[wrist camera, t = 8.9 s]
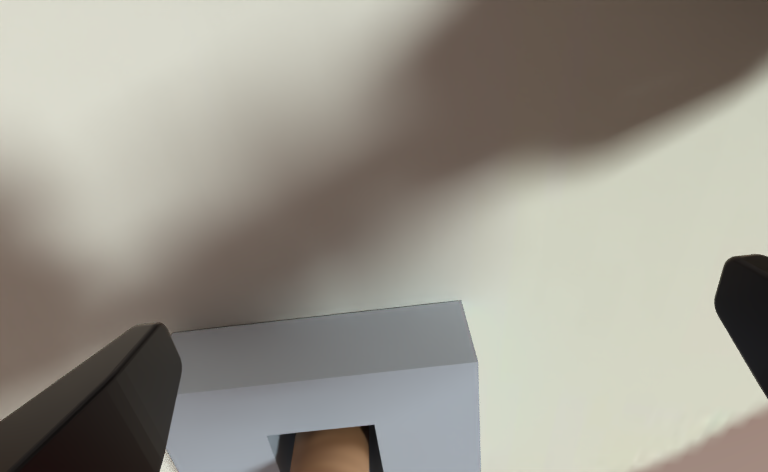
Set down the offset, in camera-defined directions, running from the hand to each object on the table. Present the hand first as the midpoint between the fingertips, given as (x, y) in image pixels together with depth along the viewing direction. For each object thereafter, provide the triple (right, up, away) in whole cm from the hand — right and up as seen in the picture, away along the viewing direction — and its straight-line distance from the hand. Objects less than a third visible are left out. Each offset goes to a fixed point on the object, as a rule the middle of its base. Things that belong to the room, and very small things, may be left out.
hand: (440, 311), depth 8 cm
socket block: (-4, -7, +18) cm, 20 cm away
